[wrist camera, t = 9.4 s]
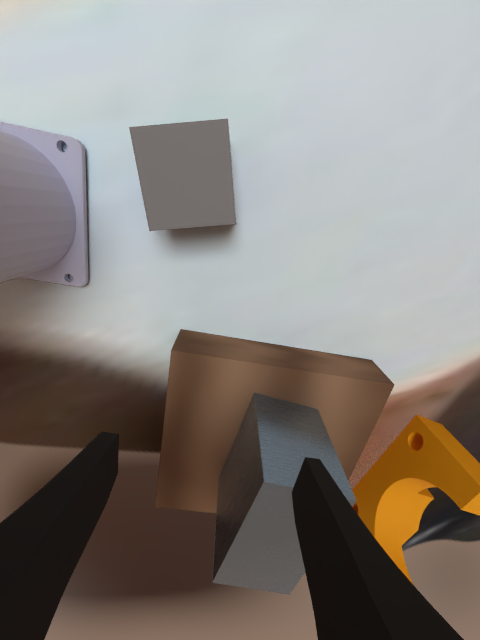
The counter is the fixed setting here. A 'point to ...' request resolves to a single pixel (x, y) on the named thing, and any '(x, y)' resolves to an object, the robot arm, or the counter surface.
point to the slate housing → (268, 494)
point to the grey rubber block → (185, 174)
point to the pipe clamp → (415, 484)
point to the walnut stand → (235, 396)
